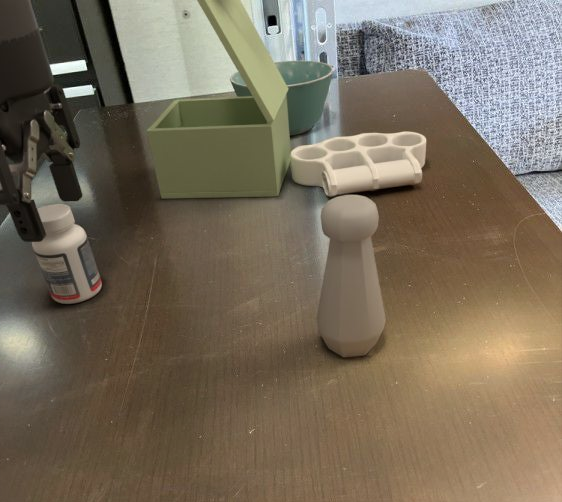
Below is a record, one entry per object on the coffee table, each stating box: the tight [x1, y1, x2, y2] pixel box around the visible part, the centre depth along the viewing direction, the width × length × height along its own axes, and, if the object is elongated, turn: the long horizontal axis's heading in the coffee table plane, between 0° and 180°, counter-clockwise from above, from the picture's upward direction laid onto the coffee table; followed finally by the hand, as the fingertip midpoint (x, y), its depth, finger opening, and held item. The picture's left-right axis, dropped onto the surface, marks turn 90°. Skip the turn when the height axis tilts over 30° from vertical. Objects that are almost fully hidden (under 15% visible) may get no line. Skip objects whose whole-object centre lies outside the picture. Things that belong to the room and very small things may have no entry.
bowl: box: [229, 60, 334, 136], centre depth 97 cm, size 16×16×8 cm
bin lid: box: [196, 0, 288, 123], centre depth 73 cm, size 16×13×5 cm
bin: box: [146, 95, 292, 200], centre depth 82 cm, size 16×13×9 cm
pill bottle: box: [31, 203, 103, 305], centre depth 62 cm, size 5×5×9 cm
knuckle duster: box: [290, 131, 427, 198], centre depth 81 cm, size 3×18×15 cm
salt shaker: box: [316, 194, 387, 358], centre depth 50 cm, size 6×6×13 cm
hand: (54, 219), depth 60 cm, fingers open, 8 cm apart
